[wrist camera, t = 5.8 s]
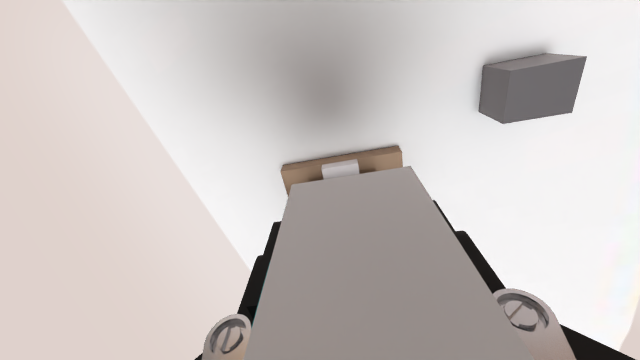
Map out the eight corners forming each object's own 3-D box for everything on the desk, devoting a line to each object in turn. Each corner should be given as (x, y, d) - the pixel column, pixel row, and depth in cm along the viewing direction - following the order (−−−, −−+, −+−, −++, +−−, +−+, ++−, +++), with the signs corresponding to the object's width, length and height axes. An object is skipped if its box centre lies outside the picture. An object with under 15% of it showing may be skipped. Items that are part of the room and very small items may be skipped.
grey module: (284, 185, 10) (214, 398, 4) (410, 166, 10) (547, 380, 4) (313, 281, 13) (296, 503, 7) (414, 270, 12) (499, 504, 6)
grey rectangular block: (482, 65, 22) (510, 70, 19) (545, 53, 22) (586, 56, 18) (478, 111, 24) (502, 123, 21) (536, 101, 24) (572, 112, 20)
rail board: (283, 165, 28) (278, 176, 25) (398, 145, 26) (404, 155, 24) (320, 290, 37) (319, 306, 35) (406, 282, 35) (411, 298, 33)
